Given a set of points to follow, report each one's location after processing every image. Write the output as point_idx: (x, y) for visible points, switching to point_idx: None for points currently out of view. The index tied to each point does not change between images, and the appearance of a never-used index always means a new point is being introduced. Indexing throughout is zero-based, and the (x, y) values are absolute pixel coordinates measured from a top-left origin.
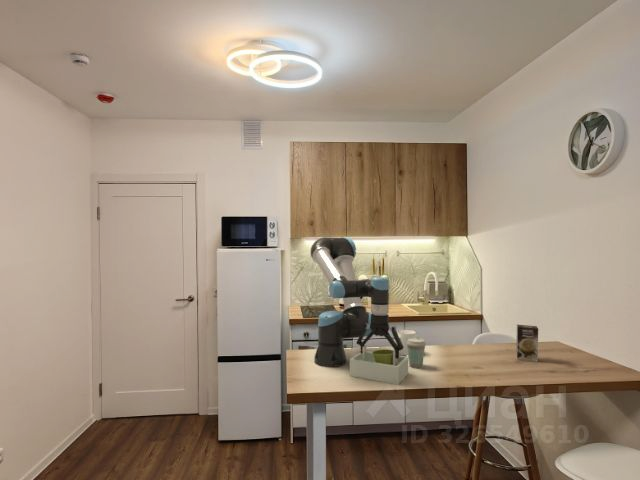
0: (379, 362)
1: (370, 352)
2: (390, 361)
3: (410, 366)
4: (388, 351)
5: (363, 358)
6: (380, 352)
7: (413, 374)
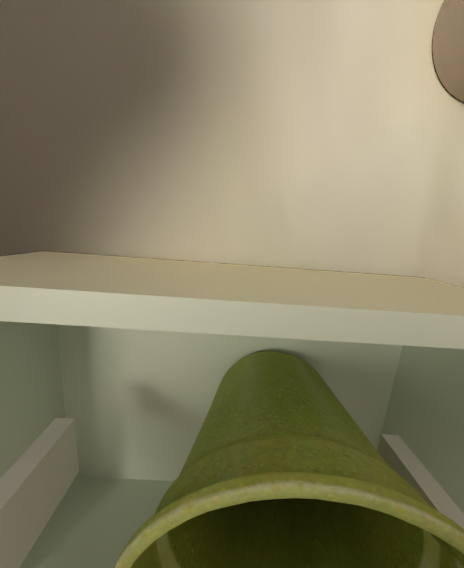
0: (252, 558)
1: (13, 320)
2: (370, 542)
3: (443, 84)
4: (364, 483)
5: (46, 509)
6: (209, 471)
7: (460, 284)
